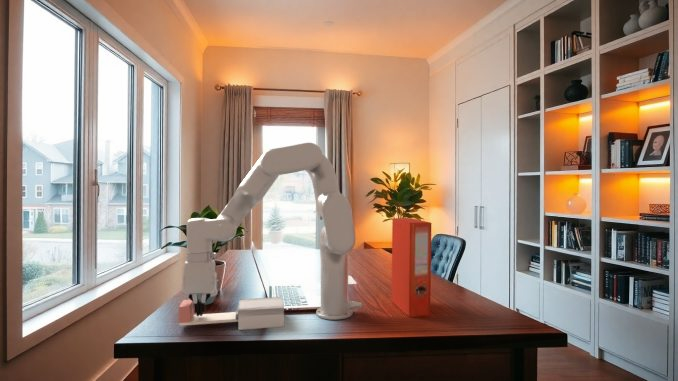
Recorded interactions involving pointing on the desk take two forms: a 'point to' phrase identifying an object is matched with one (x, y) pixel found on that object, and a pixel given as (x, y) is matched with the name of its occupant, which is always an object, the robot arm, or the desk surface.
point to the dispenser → (260, 313)
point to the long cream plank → (190, 319)
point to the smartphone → (351, 280)
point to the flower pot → (209, 297)
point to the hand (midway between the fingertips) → (199, 314)
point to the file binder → (411, 266)
